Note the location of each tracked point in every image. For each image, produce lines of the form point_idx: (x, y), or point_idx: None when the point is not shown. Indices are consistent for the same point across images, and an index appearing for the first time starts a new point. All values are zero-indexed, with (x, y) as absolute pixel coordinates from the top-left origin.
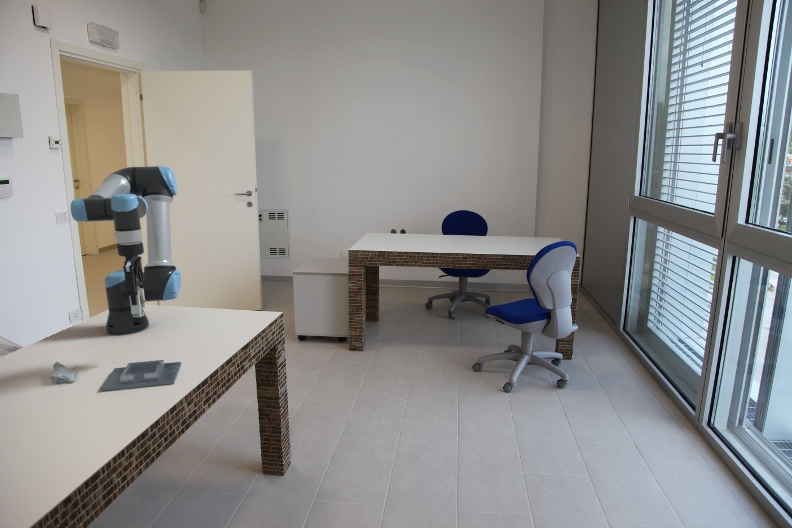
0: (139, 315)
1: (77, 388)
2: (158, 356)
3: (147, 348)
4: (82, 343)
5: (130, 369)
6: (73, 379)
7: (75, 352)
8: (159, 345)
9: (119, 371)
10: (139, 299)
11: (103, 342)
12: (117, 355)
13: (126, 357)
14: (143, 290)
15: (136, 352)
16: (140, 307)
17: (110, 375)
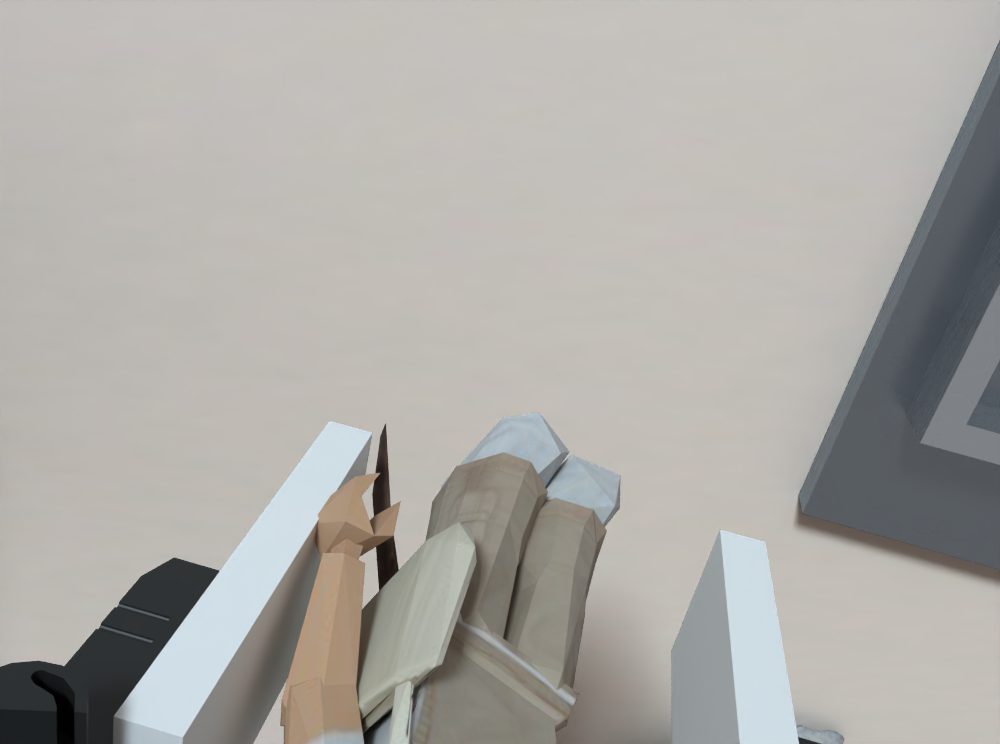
0: (616, 509)
1: (972, 721)
2: (625, 129)
3: (347, 214)
4: (60, 630)
5: (998, 418)
6: (819, 741)
7: None
8: (307, 98)
9: (912, 486)
10: (470, 669)
11: (77, 516)
12: (417, 451)
13: (500, 394)
14: (154, 668)
15: (412, 312)
16: (726, 606)
17: (960, 551)
